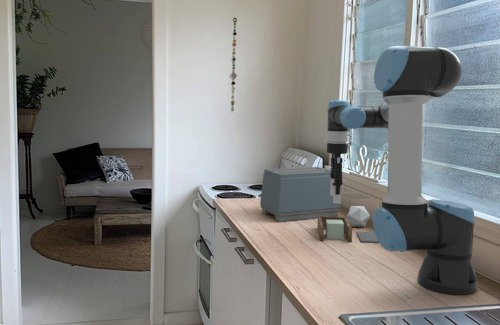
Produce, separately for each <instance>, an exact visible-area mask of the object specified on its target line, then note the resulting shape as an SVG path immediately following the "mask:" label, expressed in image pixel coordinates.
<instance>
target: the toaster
mask: <svg viewBox="0 0 500 325" xmlns="http://www.w3.org/2000/svg"><path fill="white" fill-rule="evenodd" d="M330 174H331V169H329V168H324V167H320V166H312V167H311V166H310V167H309V166H307V167H287V168H286V167H285V168H269V169H268V168H267V169H266V168H265V169H264V172H263V176H262V186H261V194H260V202H259V204H260V208H261V213H262V214H263V215H265V214H266V215H274V217H275V219H276V221H277V222H278V223H283V222H285V223H286V222H296V221H306V220H314V219H316V220H318V216H333V217H338V215H339V214H338V212H339V211H340V208H341V203H333V196H330V185H331V179H332V178H331V175H330Z"/></svg>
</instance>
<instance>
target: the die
mask: <svg viewBox="0 0 500 325" xmlns="http://www.w3.org/2000/svg"><path fill="white" fill-rule="evenodd" d="M346 217H347V219H348V221H349V223H350V225H351V227H352V228H357V227H358V228H359V227H360V228H361V227H362V228H363V227H366V226H367V223H368V221H369V218H370V217H371V214H369V211H368V210H367V209H366V207H365V206H364V205H350V208H349V210H348V212H347V215H346Z"/></svg>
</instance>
